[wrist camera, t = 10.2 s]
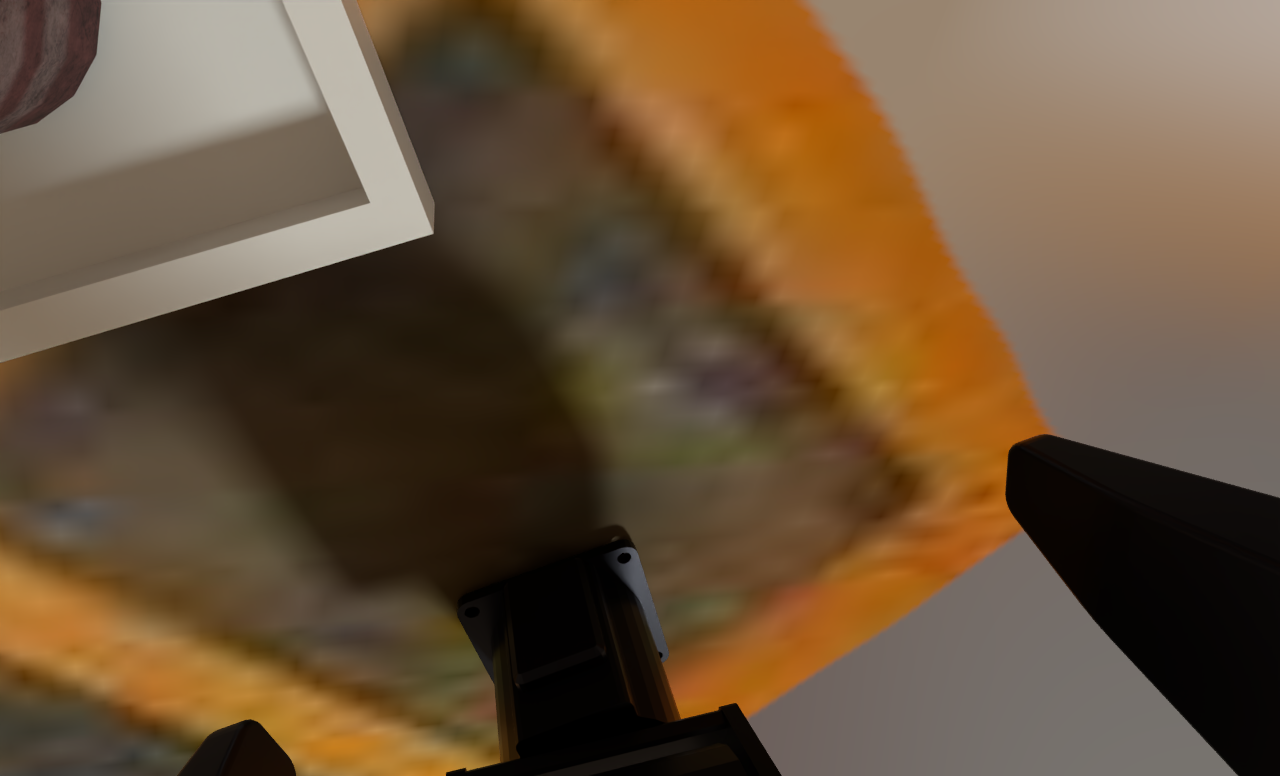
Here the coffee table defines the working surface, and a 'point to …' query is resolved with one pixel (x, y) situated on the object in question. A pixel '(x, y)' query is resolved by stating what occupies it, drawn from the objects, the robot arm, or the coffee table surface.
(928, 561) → the coffee table surface
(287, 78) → the tray
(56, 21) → the can
